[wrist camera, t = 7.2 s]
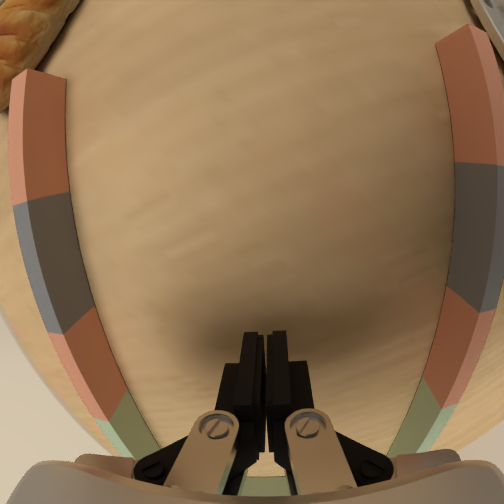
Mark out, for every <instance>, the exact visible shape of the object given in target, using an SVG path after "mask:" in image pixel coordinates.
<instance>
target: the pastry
mask: <svg viewBox="0 0 504 504" xmlns="http://www.w3.org/2000/svg"><path fill="white" fill-rule="evenodd" d="M79 1H80V0H5V2H4V3H3V4H2V5H1V6H0V113H1V112H2V111H3V110H5V109H6V108H7V107H8V106H9V104H10V94H11V85H12V79H14V78H15V77H16V76H17V75H19V74H20V73H21V72H23V71H24V70H26V69H27V68H28V69H32V70H34V69H35V68H36V66H37V65H38V64H39V63H40V62H41V61H42V60H43V57H44V56H45V54H46V53H47V51H48V50H49V48H50V45H51V44H52V43H53V41H54V40H55V38H56V37H57V35H58V34H59V32H60V30H61V29H62V27H63V26H64V24H65V20H66V18H67V17H68V15H69V14H70V13H71V12H73V10H74V9H75V8H76V6H77V5H78V3H79Z"/></svg>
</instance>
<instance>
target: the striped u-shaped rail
mask: <svg viewBox="0 0 504 504" xmlns="http://www.w3.org/2000/svg"><path fill="white" fill-rule="evenodd" d="M435 45H436V49H437V52H438V56H439V60H440V64H441V68H442V72H443V77H444V81H445V86H446V91H447V97H448V103H449V109H450V116H451V124H452V133H453V144H454V160H455V214H454V230H453V241H452V251H451V259H450V266H449V273H448V279H447V285H446V290H445V296H444V301H443V305H442V310H441V314H440V318H439V323H438V327H437V330H436V334H435V338H434V341H433V345H432V348H431V352H430V355H429V358H428V361H427V364H426V367H425V370H424V373H423V376H422V379H421V381H420V384H419V387H418V389H417V392H416V394H415V397H414V399H413V402H412V404H411V406H410V409H409V411H408V413H407V416H406V418H405V420H404V422H403V424H402V426H401V429H400V431H399V433H398V435H397V437H396V439H395V441H394V443H393V444H392V446H391V448H390V450H389V452H388V454H387V457H388V458H392V457H396V456H397V455H402V454H412V453H421V452H428V451H429V450H430V448H431V447H432V445H433V444H434V442H435V441H436V439H437V438H438V436H439V435H440V433H441V432H442V430H443V428H444V427H445V425H446V423H447V422H448V420H449V418H450V417H451V415H452V413H453V411H454V410H455V408H456V406H457V404H458V402H459V400H460V398H461V396H462V394H463V392H464V390H465V388H466V386H467V384H468V382H469V380H470V378H471V376H472V373H473V371H474V369H475V367H476V364H477V362H478V359H479V357H480V354H481V352H482V349H483V347H484V344H485V341H486V338H487V336H488V333H489V330H490V327H491V324H492V320H493V317H494V314H495V310H496V307H497V303H498V299H499V295H500V291H501V287H502V283H503V278H504V88H503V84H502V80H501V76H500V72H499V68H498V65H497V61H496V58H495V55H494V51H493V48H492V45H491V42H490V40H489V37H488V34H487V32H485V31H483V30H481V29H479V28H477V27H475V26H473V25H470V24H466V25H465V26H463V27H461V28H460V29H458V30H457V31H455V32H453V33H452V34H450V35H448V36H447V37H445V38H444V39H442V40H441V41H439V42H437V43H436V44H435ZM65 92H66V79H64V78H60V77H57V76H54V75H50V74H47V73H43V72H40V71H36V70H32V69H28V68H27V69H26V70H24V71H23V72H21V73H20V74H19V75H17V76H16V77H15V78H14V79H12V85H11V94H10V104H9V121H8V159H9V176H10V187H11V196H12V204H13V211H14V217H15V223H16V229H17V234H18V239H19V243H20V248H21V252H22V256H23V260H24V264H25V268H26V272H27V275H28V279H29V282H30V285H31V288H32V291H33V295H34V298H35V300H36V303H37V306H38V309H39V312H40V314H41V317H42V320H43V322H44V325H45V327H46V330H47V332H48V334H49V337H50V339H51V341H52V344H53V346H54V348H55V350H56V352H57V354H58V357H59V359H60V361H61V363H62V365H63V367H64V369H65V371H66V373H67V374H68V376H69V378H70V380H71V382H72V384H73V386H74V387H75V389H76V391H77V393H78V394H79V396H80V398H81V399H82V401H83V403H84V404H85V406H86V407H87V409H88V411H89V412H90V414H91V415H92V417H93V418H94V420H95V421H96V423H97V424H98V426H99V427H100V429H101V430H102V432H103V433H104V434H105V436H106V437H107V438H108V440H109V441H110V443H111V444H112V445H113V446H114V448H115V449H116V450H117V452H118V453H119V454H120V455H121V457H132V458H134V459H135V460H140V459H142V458H143V457H145V456H147V455H150V454H152V453H154V452H156V451H158V450H160V447H159V446H158V444H157V442H156V441H155V439H154V437H153V436H152V434H151V432H150V431H149V429H148V427H147V425H146V423H145V422H144V420H143V418H142V416H141V414H140V412H139V411H138V409H137V407H136V405H135V403H134V401H133V399H132V397H131V395H130V393H129V391H128V389H127V386H126V384H125V382H124V380H123V378H122V376H121V373H120V371H119V369H118V366H117V364H116V362H115V359H114V357H113V355H112V352H111V350H110V347H109V344H108V342H107V339H106V337H105V334H104V331H103V328H102V326H101V323H100V320H99V317H98V314H97V311H96V308H95V305H94V301H93V298H92V295H91V291H90V288H89V284H88V281H87V277H86V273H85V269H84V265H83V261H82V257H81V253H80V248H79V244H78V239H77V234H76V229H75V223H74V218H73V212H72V205H71V198H70V190H69V182H68V172H67V160H66V144H65ZM241 496H290V495H289V490H288V486H287V481H286V477H246V480H245V483H244V487H243V490H242V493H241Z"/></svg>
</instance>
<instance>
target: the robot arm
mask: <svg viewBox="0 0 504 504" xmlns="http://www.w3.org/2000/svg"><path fill="white" fill-rule="evenodd" d="M470 2H471V4H472V6H473V8H474V10H475V12H476V14H477V16H478V18H479V20H480V22H481V24H482V25H483V27H484V29H485V30H486V32H487V34H488V36H489V37H490V39H491V41H492V43H493V44H494V46H495V48H496V49H497V51H498V53H499V54H500V56H501V58H502V59H503V61H504V0H470ZM266 419H267V431H268V444H269V452H274V459H275V462H276V463H277V464H278V465H280V466H281V467H283V468H284V472H285V476H286V481H287V486H288V490H289V495H290V496H241V493H242V490H243V487H244V483H245V480H246V477H247V473H248V467H250V466H251V465H253V464H254V463H256V461H257V460H259V452H265V431H266ZM6 504H504V474H503V473H502V472H501V470H500V469H499V468H498V467H497V466H496V465H494V464H492V463H491V462H488V461H483V460H464V461H461V459H460V457H459V455H458V454H457V453H456V452H455V451H453V450H450V449H442V450H435V451H429V452H421V453H412V454H402V455H397V456H396V457H392V458H388V457H387V456H385V455H383V454H381V453H379V452H377V451H375V450H372V449H370V448H368V447H366V446H364V445H362V444H360V443H358V442H356V441H354V440H352V439H350V438H348V437H346V436H344V435H342V434H340V433H338V432H336V431H335V430H334V427H333V425H332V423H331V420H330V418H329V417H328V415H326V414H325V413H324V412H322V411H320V410H317V409H314V403H313V397H312V390H311V384H310V377H309V371H308V365H307V361H291V362H289V361H288V348H287V336H286V330H284V331H273V335H267V369H266V365H265V351H264V337H263V335H258V332H244V336H243V343H242V349H241V355H240V362H239V363H226V364H225V366H224V371H223V375H222V380H221V384H220V388H219V393H218V397H217V402H216V406H215V410H214V411H209V412H207V413H204V414H202V415H201V416H200V417H198V419H197V420H196V421H195V423H194V425H193V427H192V429H191V431H190V433H189V435H188V436H186V437H184V438H182V439H180V440H178V441H176V442H174V443H172V444H170V445H168V446H166V447H164V448H162V449H160V450H158V451H156V452H154V453H152V454H150V455H147V456H145V457H143V458H142V459H140V460H135V459H134V458H132V457H116V456H105V455H95V454H84V455H81V456H79V457H78V458H77V459H76V460H75V462H69V461H54V460H52V461H42V462H39V463H37V464H35V465H34V466H32V467H31V468H30V469H29V470H28V471H27V472H26V473H25V475H24V476H23V477H22V479H21V480H20V482H19V483H18V485H17V486H16V488H15V489H14V491H13V493H12V494H11V496H10V498H9V499H8V501H7V503H6Z"/></svg>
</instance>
